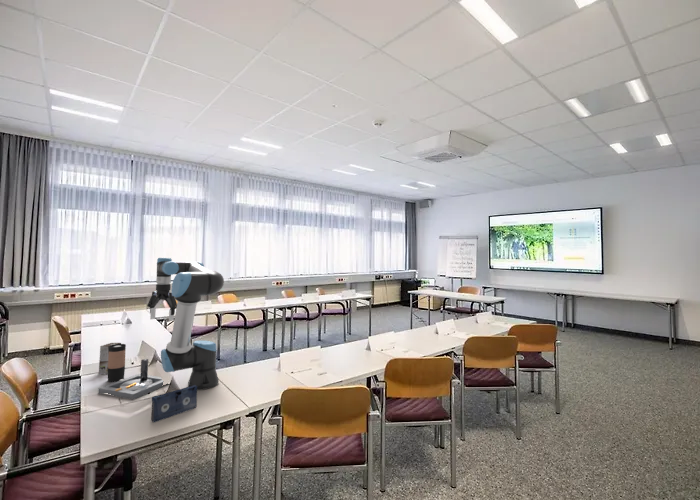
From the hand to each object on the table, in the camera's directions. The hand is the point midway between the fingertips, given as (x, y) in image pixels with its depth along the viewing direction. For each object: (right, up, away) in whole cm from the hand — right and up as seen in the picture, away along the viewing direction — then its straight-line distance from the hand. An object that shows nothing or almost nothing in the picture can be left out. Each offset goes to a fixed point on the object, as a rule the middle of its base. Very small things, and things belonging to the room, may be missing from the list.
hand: (161, 319), depth 193 cm
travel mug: (-16, -31, -15) cm, 38 cm away
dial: (+2, -29, -26) cm, 39 cm away
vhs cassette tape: (+34, -31, -50) cm, 68 cm away
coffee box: (-32, -31, +2) cm, 45 cm away
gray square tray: (+2, -31, -26) cm, 40 cm away
